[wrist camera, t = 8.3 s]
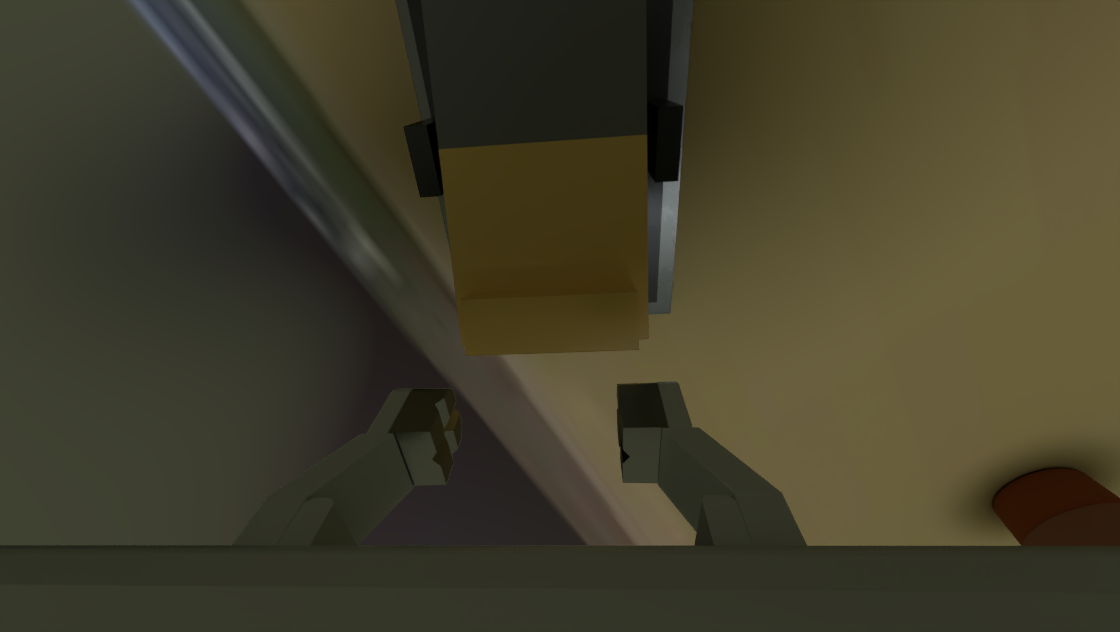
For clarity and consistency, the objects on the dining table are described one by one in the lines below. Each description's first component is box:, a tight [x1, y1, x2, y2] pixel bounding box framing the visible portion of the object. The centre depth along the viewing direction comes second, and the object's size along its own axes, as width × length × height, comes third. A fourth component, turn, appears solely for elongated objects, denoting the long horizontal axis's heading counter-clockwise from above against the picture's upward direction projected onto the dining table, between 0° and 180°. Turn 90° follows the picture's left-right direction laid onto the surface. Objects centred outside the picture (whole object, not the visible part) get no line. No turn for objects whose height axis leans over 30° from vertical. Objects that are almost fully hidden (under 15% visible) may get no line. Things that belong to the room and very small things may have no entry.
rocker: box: [421, 0, 648, 356], centre depth 14 cm, size 14×7×3 cm, turn 4°
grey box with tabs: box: [395, 0, 693, 314], centre depth 17 cm, size 20×12×7 cm, turn 4°
